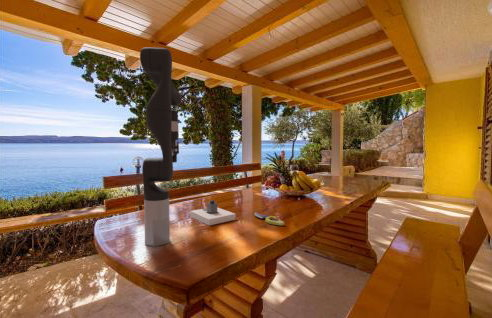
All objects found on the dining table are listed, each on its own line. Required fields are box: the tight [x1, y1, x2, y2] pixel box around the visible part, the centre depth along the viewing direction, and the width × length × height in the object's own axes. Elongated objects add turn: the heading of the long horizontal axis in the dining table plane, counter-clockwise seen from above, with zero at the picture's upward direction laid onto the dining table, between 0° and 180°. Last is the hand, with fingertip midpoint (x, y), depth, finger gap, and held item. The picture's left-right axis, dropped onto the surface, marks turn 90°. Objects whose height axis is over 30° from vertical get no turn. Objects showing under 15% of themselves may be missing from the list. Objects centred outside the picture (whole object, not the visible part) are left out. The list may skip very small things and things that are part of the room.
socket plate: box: [189, 206, 236, 226], centre depth 127 cm, size 20×16×4 cm
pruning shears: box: [254, 211, 285, 226], centre depth 124 cm, size 8×3×25 cm
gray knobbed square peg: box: [206, 199, 218, 214], centre depth 127 cm, size 4×4×10 cm
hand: (171, 162), depth 123 cm, fingers open, 8 cm apart
